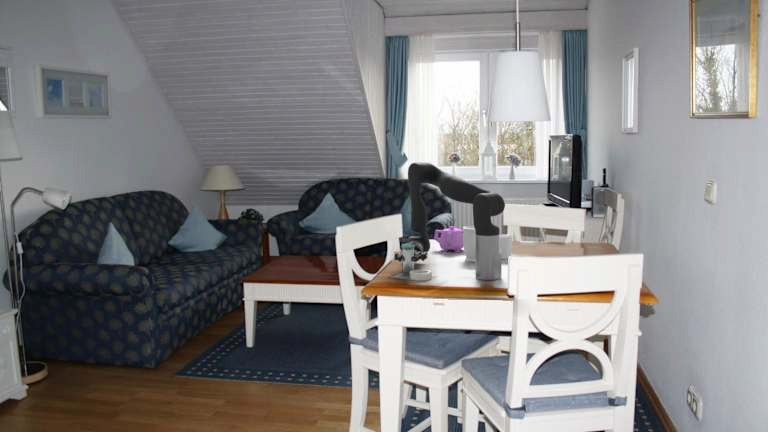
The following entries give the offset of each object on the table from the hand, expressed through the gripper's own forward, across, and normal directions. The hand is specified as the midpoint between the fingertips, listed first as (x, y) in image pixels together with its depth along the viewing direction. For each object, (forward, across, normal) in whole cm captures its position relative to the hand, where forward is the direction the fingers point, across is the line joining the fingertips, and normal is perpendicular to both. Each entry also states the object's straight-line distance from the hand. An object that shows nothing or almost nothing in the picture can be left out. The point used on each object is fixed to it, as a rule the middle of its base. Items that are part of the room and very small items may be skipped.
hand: (407, 259), depth 270 cm
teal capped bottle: (-3, 0, +7) cm, 7 cm away
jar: (-39, +24, +8) cm, 46 cm away
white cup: (-46, +37, +8) cm, 59 cm away
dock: (+1, +3, +8) cm, 8 cm away
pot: (-63, +13, +8) cm, 65 cm away
